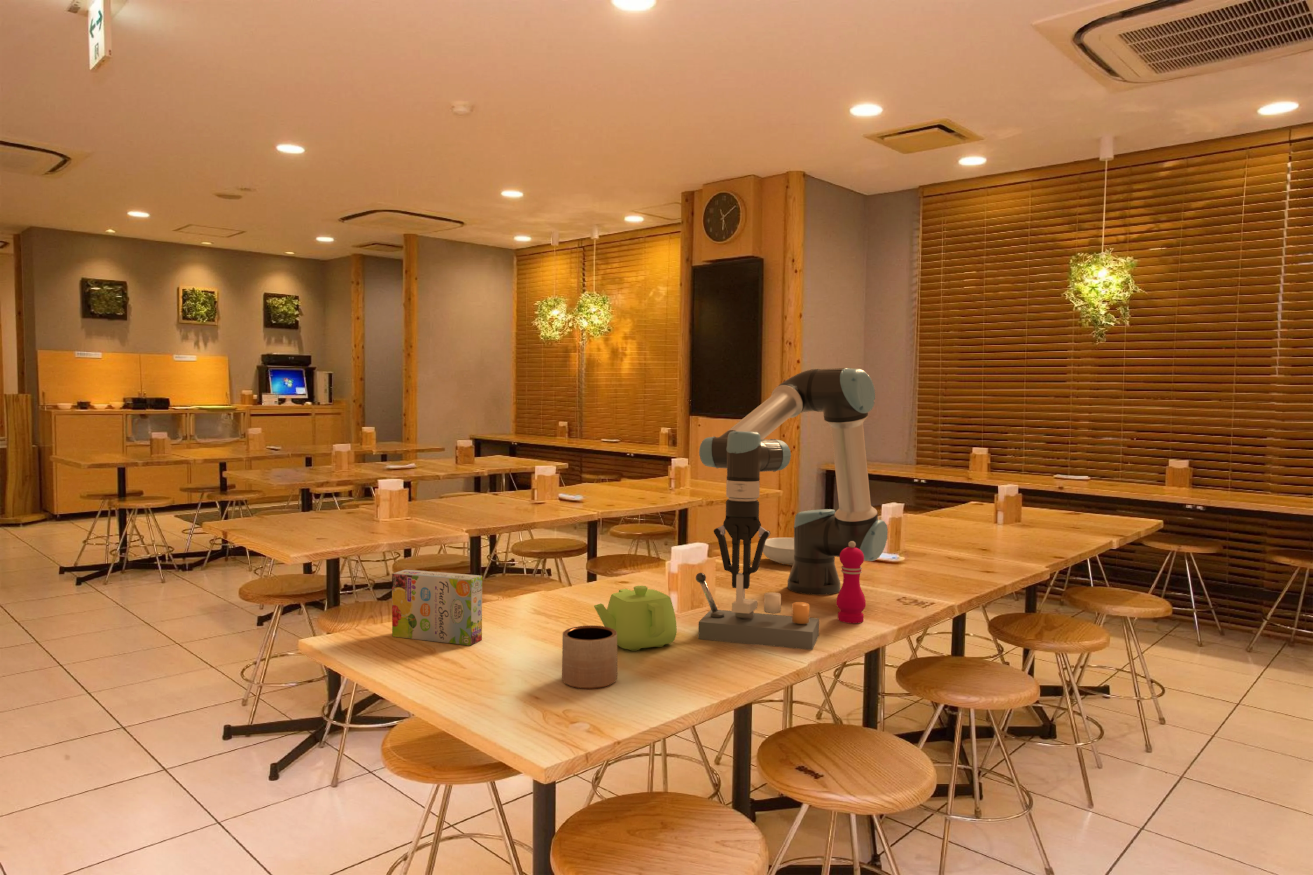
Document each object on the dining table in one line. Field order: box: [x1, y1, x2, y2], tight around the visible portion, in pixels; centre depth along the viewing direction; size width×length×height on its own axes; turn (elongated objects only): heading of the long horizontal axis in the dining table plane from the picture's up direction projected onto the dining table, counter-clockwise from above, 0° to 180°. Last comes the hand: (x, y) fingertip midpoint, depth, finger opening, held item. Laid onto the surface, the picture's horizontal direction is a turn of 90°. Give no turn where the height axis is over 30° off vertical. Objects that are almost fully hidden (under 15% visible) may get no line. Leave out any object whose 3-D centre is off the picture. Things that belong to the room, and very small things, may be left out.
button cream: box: [763, 591, 782, 615], centre depth 192 cm, size 4×4×4 cm
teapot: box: [593, 585, 677, 652], centre depth 186 cm, size 18×20×13 cm
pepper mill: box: [835, 541, 867, 624], centre depth 208 cm, size 7×7×20 cm
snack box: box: [391, 569, 483, 646], centre depth 190 cm, size 21×6×15 cm, turn 71°
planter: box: [561, 625, 618, 690], centre depth 163 cm, size 11×11×10 cm
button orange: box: [791, 601, 810, 624], centre depth 190 cm, size 4×4×4 cm
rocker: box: [731, 598, 758, 614], centre depth 194 cm, size 10×4×2 cm, turn 162°
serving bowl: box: [762, 537, 794, 566], centre depth 280 cm, size 21×21×7 cm
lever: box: [695, 572, 719, 613], centre depth 196 cm, size 2×2×10 cm
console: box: [698, 609, 820, 651], centre depth 193 cm, size 12×26×6 cm, turn 72°
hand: (740, 602), depth 189 cm, fingers closed
